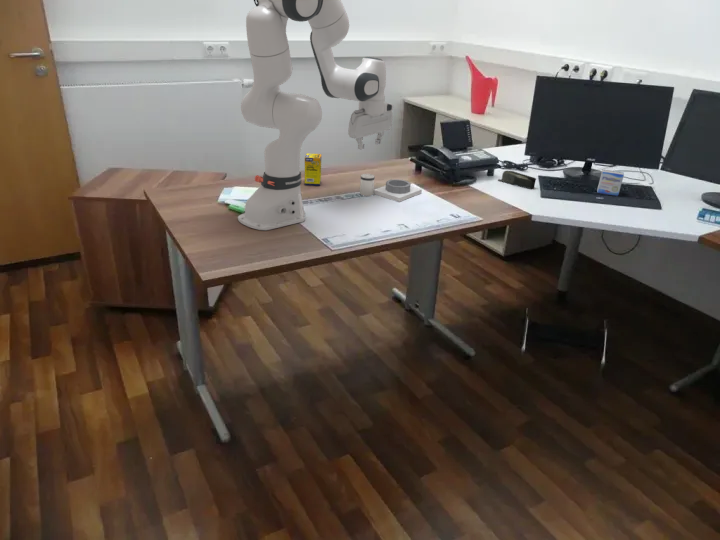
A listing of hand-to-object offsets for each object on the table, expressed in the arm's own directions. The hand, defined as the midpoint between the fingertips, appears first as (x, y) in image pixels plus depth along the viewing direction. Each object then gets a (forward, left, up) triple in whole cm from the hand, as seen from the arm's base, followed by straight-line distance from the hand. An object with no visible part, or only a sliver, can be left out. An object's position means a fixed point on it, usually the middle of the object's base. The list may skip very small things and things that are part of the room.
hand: (369, 146), depth 197 cm
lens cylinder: (0, 0, -18) cm, 18 cm away
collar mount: (+9, -8, -18) cm, 21 cm away
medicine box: (+72, -64, -18) cm, 98 cm away
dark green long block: (+53, -34, -18) cm, 66 cm away
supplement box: (-6, +22, -18) cm, 29 cm away
